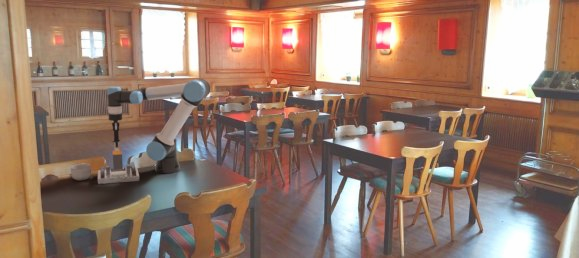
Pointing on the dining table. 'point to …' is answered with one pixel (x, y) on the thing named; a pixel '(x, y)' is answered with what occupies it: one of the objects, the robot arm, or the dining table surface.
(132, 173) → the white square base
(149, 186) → the dining table surface
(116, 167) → the lever
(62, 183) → the dining table surface
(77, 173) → the teacup
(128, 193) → the dining table surface
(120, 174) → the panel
